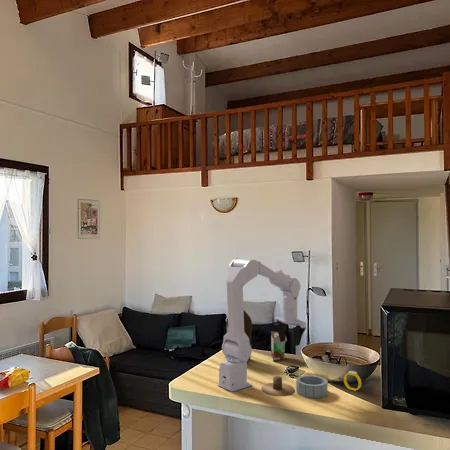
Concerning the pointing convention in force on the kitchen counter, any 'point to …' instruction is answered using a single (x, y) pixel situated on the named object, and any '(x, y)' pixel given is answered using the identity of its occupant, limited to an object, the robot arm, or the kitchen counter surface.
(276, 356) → the food container
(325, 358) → the lighter
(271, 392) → the lid
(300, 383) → the bowl
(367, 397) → the kitchen counter surface
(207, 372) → the kitchen counter surface
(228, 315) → the robot arm
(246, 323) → the olive oil
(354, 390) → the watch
